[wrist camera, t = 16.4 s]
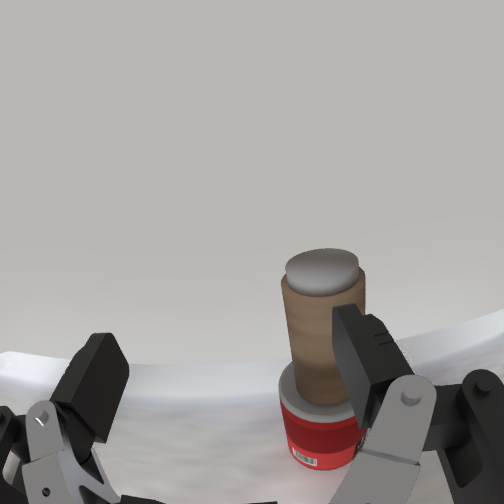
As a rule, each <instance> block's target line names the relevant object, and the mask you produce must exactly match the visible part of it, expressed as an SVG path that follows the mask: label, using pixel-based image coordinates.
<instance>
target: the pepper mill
mask: <svg viewBox="0 0 504 504" xmlns="http://www.w3.org/2000/svg"><path fill="white" fill-rule="evenodd" d="M285 269H286V274H285V275H284V277H283V278H282V280H281V287H282V294H283V300H284V306H285V313H286V319H287V326H288V333H289V339H290V347H291V353H292V361H293V368H294V375H295V382H296V388H297V391H298V393H299V394H300V395H301V396H302V397H303V398H304V399H305V400H307V401H309V402H311V403H313V404H317V405H334V404H338V403H341V402H344V401H346V400H348V399H349V396H348V394H347V391H346V388H345V385H344V382H343V379H342V376H341V374H340V371H339V368H338V365H337V363H336V360H335V357H334V353H333V348H332V309H333V307H334V306H339V305H344V304H349V303H355V304H356V305H357V307H358V309H359V310H360V312H361V314H362V315H363V316H364V315H365V273H364V271H363V270H362V269H361V268H360V267H359V264H358V258H357V257H356V256H355V255H354V254H353V253H351V252H348V251H346V250H341V249H332V248H326V249H316V250H311V251H307V252H303V253H301V254H298V255H296V256H294V257H293V258H291V259H290V260H289V261H288V262H287V264H286V266H285Z"/></svg>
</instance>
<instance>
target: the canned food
mask: <svg viewBox="0 0 504 504" xmlns="http://www.w3.org/2000/svg"><path fill="white" fill-rule="evenodd" d="M279 397H280V404H281V409H282V414H283V420H284V425H285V430H286V435H287V440H288V446H289V449H290V452H291V454H292V455H293V457H294V458H295V459H296V460H297V461H298V462H300V463H301V464H302V465H304V466H306V467H308V468H311V469H315V470H332V469H336V468H339V467H342V466H344V465H346V464H347V463H349V462H350V461H351V460H353V459H354V458H355V457H356V456H357V454H358V453H359V451H360V450H361V449H362V447H363V444H364V440H365V436H366V433H367V429H368V428H367V429H363V430H360V429H359V426H358V423H357V420H356V417H355V414H354V411H353V408H352V405H351V402H350V399H348V400H346V401H344V402H341V403H338V404H334V405H317V404H313V403H311V402H309V401H307V400H305V399H304V398H303V397H302V396H301V395H300V394H299V393H298V391H297V388H296V382H295V375H294V368H293V361H292V362H291V363H290V364H289V365H288V366H287V367H286V368H285V370H284V371H283V372H282V374H281V377H280V380H279Z"/></svg>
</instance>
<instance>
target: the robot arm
mask: <svg viewBox="0 0 504 504" xmlns="http://www.w3.org/2000/svg"><path fill="white" fill-rule="evenodd" d="M332 348H333V353H334V357H335V360H336V363H337V365H338V368H339V371H340V374H341V376H342V379H343V382H344V385H345V388H346V391H347V394H348V396H349V399H350V402H351V405H352V408H353V411H354V414H355V417H356V420H357V423H358V426H359V429H360V430H363V429H367V428H370V429H371V431H370V433H369V435H368V437H367V440H366V442H365V444H364V446H363V447H362V449H361V450H360V451H359V453H358V454H357V456H356V458H355V460H354V462H353V464H352V465H351V467H350V469H349V471H348V473H347V474H346V476H345V478H344V480H343V481H342V483H341V485H340V486H339V488H338V490H337V491H336V493H335V495H334V496H333V498H332V500H331V501H330V503H329V504H406V503H407V501H408V498H409V496H410V494H411V491H412V489H413V486H414V484H415V481H416V479H417V476H418V473H419V469H420V464H419V458H420V455H421V452H422V451H432V450H436V451H437V454H438V456H439V459H440V462H441V465H442V468H443V470H444V473H445V476H446V479H447V482H448V485H449V488H450V492H451V495H452V498H453V501H454V504H504V385H503V383H502V382H501V380H500V379H499V377H498V376H497V375H496V374H494V373H493V372H491V371H488V370H484V369H479V370H474V371H472V372H470V373H469V374H467V376H466V377H465V378H464V380H463V382H462V384H455V385H444V386H435V385H433V384H432V383H431V382H430V381H429V380H428V379H426V378H424V377H422V376H418V375H415V374H414V373H413V371H412V369H411V368H410V366H409V364H408V362H407V361H406V359H405V357H404V356H403V354H402V352H401V351H400V349H399V348H398V346H397V344H396V343H395V342H394V339H393V338H392V336H391V335H390V334H389V331H388V330H387V329H386V327H385V325H384V324H383V322H382V321H381V320H379V319H378V318H376V317H375V316H373V315H372V314H368V315H364V316H363V315H362V314H361V312H360V310H359V309H358V307H357V305H356V304H355V303H349V304H344V305H339V306H334V307H333V309H332ZM69 365H70V366H68V367H67V369H66V371H65V374H63V376H62V378H61V380H60V381H59V383H58V385H57V387H56V389H55V391H54V392H53V394H52V396H51V398H50V400H49V401H40V402H38V403H36V404H34V405H33V406H32V407H31V408H30V409H29V411H28V412H27V415H19V416H16V415H15V414H14V413H13V412H12V411H11V410H10V408H9V407H7V406H0V504H165V503H162V502H159V501H156V500H152V499H145V498H138V497H133V496H127V495H121V498H120V497H119V496H118V495H117V494H116V493H115V491H114V490H113V489H112V487H111V485H110V483H109V481H108V479H107V476H106V474H105V472H104V470H103V467H102V465H101V463H100V460H99V458H98V456H97V453H96V451H95V449H94V448H93V447H92V445H93V442H99V443H105V444H106V441H107V438H108V435H109V432H110V429H111V426H112V423H113V420H114V417H115V414H116V411H117V408H118V405H119V403H120V400H121V397H122V394H123V391H124V389H125V386H126V383H127V380H128V378H129V365H128V362H127V360H126V359H125V357H124V355H123V353H122V351H121V349H120V347H119V345H118V343H117V341H116V339H115V337H114V336H113V334H112V333H94V334H92V335H91V336H90V338H89V339H88V341H87V342H86V344H85V346H84V347H82V348H81V349H80V350H79V351H78V352H77V353H76V354H75V355H74V357H73V359H72V360H71V362H70V364H69ZM10 450H11V451H12V452H13V453H14V454H15V455H16V456H17V457H18V458H20V459H21V460H20V463H19V466H18V468H17V471H16V474H15V477H14V480H13V483H12V485H10V484H8V483H7V482H6V481H5V480H4V478H3V474H2V471H3V468H4V465H5V462H6V460H7V457H8V455H9V452H10ZM250 504H278V503H277V501H275V502H264V503H250Z"/></svg>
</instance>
